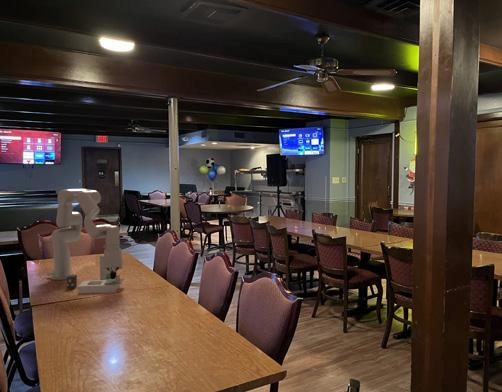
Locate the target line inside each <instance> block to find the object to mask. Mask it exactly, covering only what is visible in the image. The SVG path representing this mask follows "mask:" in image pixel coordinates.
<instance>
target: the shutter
mask: <svg viewBox="0 0 502 392" xmlns="http://www.w3.org/2000/svg"><path fill="white" fill-rule="evenodd" d="M124 280H125V278H121V273H120V272H119V273H116V279H108V280H107V281H106V282H105V283H104V285H106V284H120V285H121V284H122V283H123V281H124Z"/></svg>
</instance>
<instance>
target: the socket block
mask: <svg viewBox="0 0 502 392" xmlns="http://www.w3.org/2000/svg"><path fill="white" fill-rule="evenodd" d="M106 281H107V280H100V279H96V280H95V279H93V280H92V279H91V280H84V281H82V282H81V283H80V284H79V285H77V289H78V293H77V294H81V295H82V294H100V293H117V291H118V290H119V289H120V286H121V284H106V285H104V283H105V282H106Z"/></svg>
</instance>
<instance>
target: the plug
mask: <svg viewBox="0 0 502 392" xmlns="http://www.w3.org/2000/svg"><path fill="white" fill-rule="evenodd" d="M77 277H78V275H77V274H73V275H69V276H68V277H67V279H66V289H67V290H74V289H76V288H78V281H77V280H78V279H77Z"/></svg>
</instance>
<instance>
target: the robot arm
mask: <svg viewBox="0 0 502 392" xmlns="http://www.w3.org/2000/svg"><path fill="white" fill-rule="evenodd" d="M101 201H102V195H101V193H100V191H97V190H95V189H89V188H65V189H61V190H60V191H59V192H58V193H57V210H56V211H57V212H56V213H57V214H56V222H55V223H56V226H57V227H58V228H57V229H55V230H53V231H52V232H51V236H50V237H51V241H52V250H53V271H47V272H46V274H47V276H51V280H53V281H61V280H62V281H63V280H64V281H65V280H67V277H68V276H69V275H74V274H73V273H71V272H72V271H71V250H70V247H69V245H68V243H74V242H77V241H79V240H80V239H81V235H82V228H83V227H84V228H85V231H86V232H87V234H88V236H89V237H90V238H92V239H94V240H95V239H96V240H98V239H103V238H105V244H104V245H103V246H102V247H103V248H104V251H103V255H104V256H103V269H107V270H108V271H109V272H110V278H111V279H115V277H116V275H117V272H118V270H120V269H121V270H122V269H123V267H124V265H123V254H122V249H121V248H120V245H121V243H120V242H121V241H120V227H119V226H118V225H112V224H109V223H105V224H98V225H95V223H94V221H93V218H94V217H96V216H97V215H99V213H100V208H99V206H98V204H99V203H101ZM73 203H78V204H79V206H80V208H81V209H82V211H83V213H84V215H85V217H84V218H83V215H82V214H81V212H78V211H73V209H74V206H73ZM83 219H84V221H83ZM83 225H84V226H83ZM112 267H114V271H113V270H112Z"/></svg>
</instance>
